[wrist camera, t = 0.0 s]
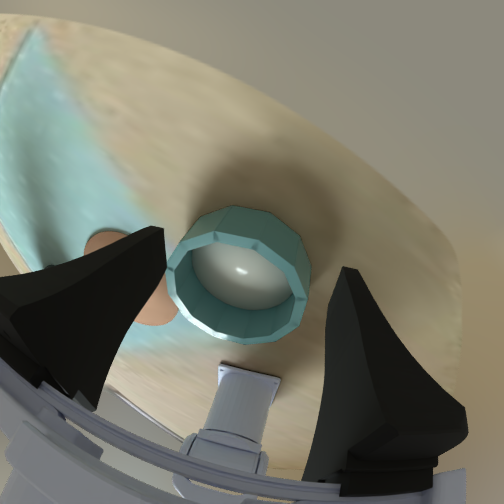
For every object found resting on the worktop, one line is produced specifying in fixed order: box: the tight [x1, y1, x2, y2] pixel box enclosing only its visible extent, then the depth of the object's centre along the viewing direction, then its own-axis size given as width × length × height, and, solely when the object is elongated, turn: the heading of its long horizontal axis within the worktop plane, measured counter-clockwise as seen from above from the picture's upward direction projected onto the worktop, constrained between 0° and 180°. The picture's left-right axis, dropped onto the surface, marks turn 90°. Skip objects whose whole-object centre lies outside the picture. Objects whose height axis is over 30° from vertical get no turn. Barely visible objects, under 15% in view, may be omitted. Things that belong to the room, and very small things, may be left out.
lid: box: [84, 231, 179, 326], centre depth 27 cm, size 13×13×5 cm
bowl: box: [165, 205, 311, 345], centre depth 22 cm, size 11×11×4 cm
